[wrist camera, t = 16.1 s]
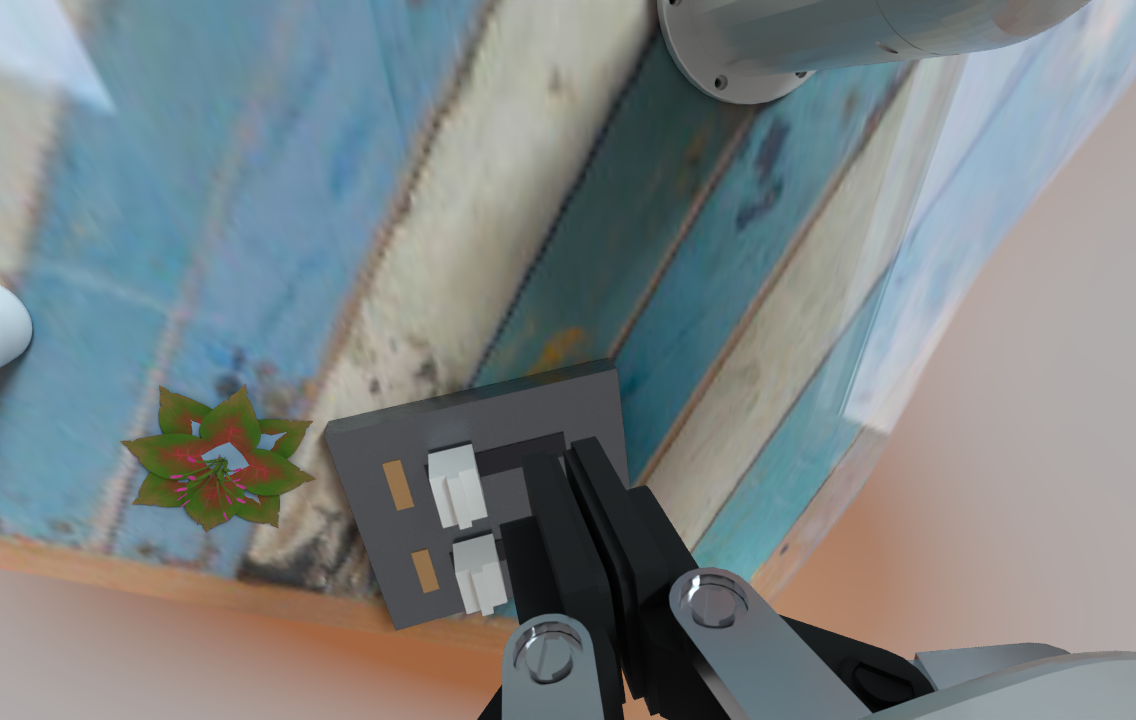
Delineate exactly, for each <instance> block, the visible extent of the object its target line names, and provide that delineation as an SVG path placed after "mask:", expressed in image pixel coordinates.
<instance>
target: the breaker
mask: <svg viewBox="0 0 1136 720" xmlns="http://www.w3.org/2000/svg"><path fill="white" fill-rule="evenodd" d="M428 464H429V481H430V484H431V488H432V491H433V495H434V498H435V502H436V505H437V509H438V512H439V516H440V519H441V523H442V526H443V528H446V527H450V526H454V525H458V524H459V527H460V530H461V529H465V528H469V527H472V522H471V521H473V520H476V519H480V518H484V517H488V516H487V511H486V505H485V499H484V494H483V489H482V485H481V481H480V476H479V472H478V468H477V464H476V460H475V456H474V451H473V447H472V444H469V445H465V446H461V447H457V448H453V449H449V450H445V451H441V452H436V453H432V454H428Z"/></svg>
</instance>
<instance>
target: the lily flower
mask: <svg viewBox="0 0 1136 720" xmlns="http://www.w3.org/2000/svg"><path fill="white" fill-rule="evenodd" d="M159 386H160V385H159ZM160 391H161V392H162V393H161V394H160V403H161V405H162V406H161V407H160V408H159V423H160V426H161V429H162V431H163V433H164V434H162V435H157V436H150V437H145V438H140V439H136V441H133V442H131V441H120V442H122V443H123V444H124V445H126V446H127V447H128V449H129V450H130V451H131V452H132V453H133V454H134V455H136V456H138V457H139V458H138V460H139V461H140V462H141V464H142V465H143V466H144V467H145V468H146V469H148V470H149V471H151V472H150V473H149V474H148V476H147V477H146V478H145V480H144V482H143V484H142V486H141V488H140V490H139V498H136V499H135V501H134V502H133V503H132V504H140V503H141V504H145V505H153V504H157V506H162V507H177V506H181V507H183V506H184V505H185V508H186V511H187V513H188V514H189V515H190V516H191V517H192V518H193V519H194V520H195V521H196V522H197V523H199V524H202V525H204V526H203V528H204V529H205V531H206V532H207V531H209V530H210V528H213V527H216V526H217V525H218V523H221V524H222V523H224V522H226V521H228V520H229V519H231V518H232V517H233V516H234V515H235V514H236V515H238V516H240V517H241V518H244V519H246V520H249V521H254V522H258V523H263V524H264V523H270V525H272V526H275V527H277V528H279V527H278V523H277V522H278V518H279V516H278V514H277V513H278V512H279V510H280V499H279V494H282V493H285V492H287V491H289V490H291V489H294V488H296V487H298V486H300V485H301V484H302V483H303V482H304V481H311V480H315V478H313V477H311V476H310V475H308V474H307V473H305V472H304V471H300V468H298V467H297V466H295V465H294V464H292V463H291V462H289V461H288V460H286V459H287V458H289V457H290V456H291V455H292V454H293V453H294V452H295V451H296V449H297V448H298V446H299V445H300V443H301V441H302V439H303V437H304V435H305V428H306V427H307V428H308V427H309V425H310V424H311V423H312V422H313V421H306V422H305V421H292V422H290V421H289V420H279V419H263V420H257V418H256V415H255V412H254V409H253V407H252V404H251V402H250V400H249V399H248V397H247V396H246V394H247V391H246V385H244V386H243V387H242V388H241V389H240V391H237V392H236V393H235V394H233V395H232V396H230V398H229V400H228V401H223V402H222V403H221V404H219V405H218V406H217V407H216V408H214V409H211V408H209V407H207V406H206V405H203V404H201V403H199V402H197V401H194V400H192V399H190V398H187V397H185V396H182V395H180V394H177V393H175V394H174V393H170V392H169V390H167V389H165V388H163V387H162V386H160ZM190 419H191V420H192V421H194V422H197V423H200V424H201V425H200V435H201V438H199V437H196V436H193V435H192V426H191V423H192V422H191V420H190ZM284 432H287V433H286V434H284V435H283V436H282V437H281V438H279V439H278V440H277V441H275V445H274V447H273V448H272V449H271V450H270V451H268V450H264V449H254V448H255V447H256V446H257V445H258V443H259V441H260V437H261V434H268V435H275V434H279V433H284ZM228 442H230V443H231V444H232V445H233V446H234V447H235V448H236V449H237V450H238V451H239V452H240V453H241V454H242V455H243V456H244V458H245V459H246V461H247V462H248V464H249V466H248V467H246V468H244V469H242V468H240V469H236V470H233V472H236V473H234V474H232V475H230V476H229V475H228V473H227V472H232V471H231V470H229V469H227V464H228V461H227V460H225V458H224V459H223V458H222V457H220V454H219V457H218V459H214V460H209V461H204V460H203V459H202V457H201V455H203V454H205V453H206V452H208V451H210V450H212V449H213V448H215V447H217V446H220V445H222V444H225V443H228ZM212 462H215V463H213V464H210V465H208V466H207V465H206V464H205V463H212ZM217 463H218V464H217ZM223 463H224V465H223ZM215 464H217V466H216V467H215V468H213V469H212V470H211V469H210V468H209V467H210V466H213V465H215ZM222 465H223V468H222V477H221V467H222ZM241 469H242V470H241ZM237 471H238V472H237ZM217 472H218V473H217ZM216 473H217V475H216ZM224 473H225V475H226V476H227V477H223V476H224ZM182 479H191V480H190V481H189V483H182V482H177V481H178V480H182ZM244 489H246V490H248V491H249V492H251V493H254V494H257V495H258V498H259V501H260V503H261V505H260V504H259V503H257V502H256V501H255V500H253V499H252V498H247V497H245V496H244ZM181 507H179V508H181Z"/></svg>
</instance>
